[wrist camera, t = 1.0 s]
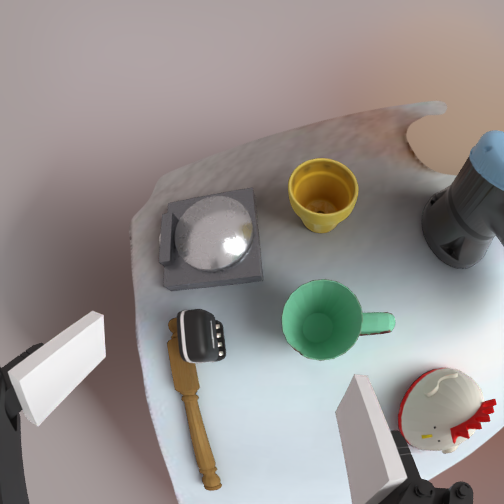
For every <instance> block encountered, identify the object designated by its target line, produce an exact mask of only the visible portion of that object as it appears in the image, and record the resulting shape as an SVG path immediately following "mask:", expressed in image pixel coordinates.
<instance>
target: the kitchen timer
mask: <svg viewBox="0 0 504 504" xmlns="http://www.w3.org/2000/svg"><path fill="white" fill-rule="evenodd" d="M494 405H496V400H495V399H492V400H488V401H484V398H483V394H482V391H481V389H480V387H479V386H478V385H477V383H476V382H475V381H474V380H473V379H472V378H471V377H469V376H468V375H466V374H464V373H463V372H461V371H459V370H456V369H450V368H439V369H433V370H431V371H429V372H427V373H425V374H423V375H422V376H421V377H419V378H418V379H417V380H416V381H415V382H414V383H413V384H412V385H411V387H410V388H409V389H408V391H407V392H406V394H405V396H404V398H403V400H402V402H401V405H400V409H399V414H398V427H399V429H400V432H401V434H402V436H403V437H404V438H405V440H406V441H407V442H408V443H409V444H410V445H412V446H414V447H416V448H419V449H421V450H430V451H440V450H442V453H444V454H446V453H451V452H453V451H455V450H456V449H457V447H458V446H459V445H460V444H461V443H462V442H464V441H465V440H467V439H469V438H470V436H472V435H473V434H474V432H475V431H476V429H482V427H481V423H480V422H490V417H489V415H488V414H491V413H494V409H493V406H494Z"/></svg>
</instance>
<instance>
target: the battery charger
mask: <svg viewBox="0 0 504 504" xmlns="http://www.w3.org/2000/svg"><path fill="white" fill-rule="evenodd" d="M177 335H178V345H179V353H180V356H181V358H182V360H183V361H185V362H189V363H205V362H215V361H220V360H222V359H224V358H225V356H226V349H225V340H224V332H223V326H222V323H221V322H219V321H217V320H215V317H214V315H213V314H211V313H209V312H207V311H205V310H202V309H194V310H183V311H181V312H179V313H178V315H177Z"/></svg>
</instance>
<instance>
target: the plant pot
mask: <svg viewBox="0 0 504 504" xmlns="http://www.w3.org/2000/svg"><path fill="white" fill-rule="evenodd" d="M288 193H289V200H290V204H291V206H292V208H293V210H294V211H295V213H296V214H297V215H298V216H299V217H300V218H301V219H302V221H303V223H304V225H305V226H306V227H307V228H308V229H309V230H311V231H313V232H316V233H327V232H329V231H331V230H333V229H334V228H335V227H336V226H337V224H338V223H339V222H341V221H343V220H344V219H346V218H347V217H348V216H349V215H350V213H351V212H352V210H353V208H354V206H355V203H356V200H357V197H358V183H357V180H356V178H355V176H354V174H353V173H352V171H351V170H350V169H349V168H348V167H346V166H345V165H343V164H342V163H340V162H338V161H335V160H332V159H326V158H316V159H311V160H308V161H306V162H304V163H302V164H300V165H299V166H298V167H297V168H296V169H295V170H294V171H293V172H292V174H291V176H290V178H289V182H288ZM321 213H323V214H321Z"/></svg>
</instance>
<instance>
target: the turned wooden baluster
mask: <svg viewBox="0 0 504 504" xmlns="http://www.w3.org/2000/svg"><path fill="white" fill-rule="evenodd" d="M168 327H169V329H170V331H171V332H172V333H173V335H172V336H171V338H172V339H171V340H169V341H168V342H167V347H168V353H169V359H170V365H171V371H172V376H173V381H174V387H175V390H176V391H178V392H180V394H182V395H183V396H182V401H184V403H185V409H186V414H187V419H188V424H189V429H190V434H191V439H192V444H193V448H194V452H195V457H196V461H197V465H198V467H199V468H200V469H199V472H200V473H202V474H203V477H202V482H203V484H204V488H205V489H206V490H217V489H219V488H221V486H222V484H221V483H220V478H219V476H218V475H217V474H215V471H216V470H217V468H216V467H215V460H214V457H213V454H212V451H211V448H210V444H209V441H208V438H207V434H206V431H205V428H204V424H203V421H202V417H201V413H200V410H199V406H198V402H197V400H198V398H199V397H198V395H196V392H197V390H198V389H199V388H200V386H199V381H198V376H197V371H196V366H195V363H189V362H185V361H183V360H182V358H181V356H180V353H179V345H178V335H177V318H173V319H171V320H170V321H169V324H168Z"/></svg>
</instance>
